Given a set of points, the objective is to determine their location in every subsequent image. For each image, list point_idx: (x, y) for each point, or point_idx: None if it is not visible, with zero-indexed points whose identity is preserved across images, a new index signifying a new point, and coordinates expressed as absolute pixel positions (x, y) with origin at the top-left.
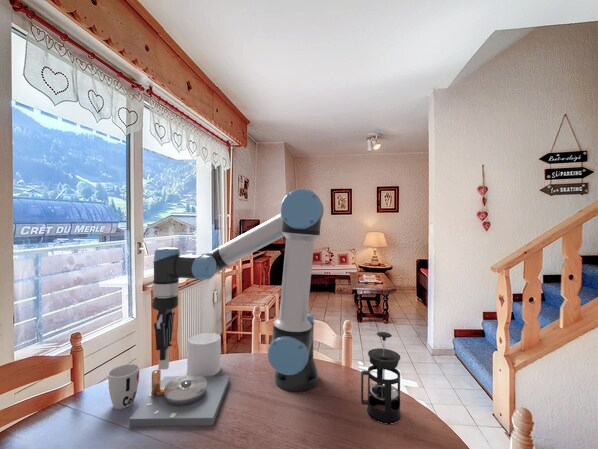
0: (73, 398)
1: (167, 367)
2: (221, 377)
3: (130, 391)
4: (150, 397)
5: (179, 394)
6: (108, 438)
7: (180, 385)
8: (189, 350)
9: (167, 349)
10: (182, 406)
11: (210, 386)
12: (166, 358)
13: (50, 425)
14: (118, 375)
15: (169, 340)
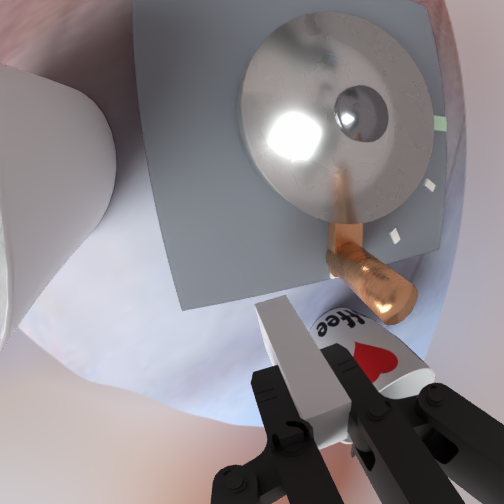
0: None
1: (283, 301)
2: (149, 4)
3: (385, 329)
4: None
5: (425, 120)
6: (446, 258)
7: (368, 142)
8: (43, 278)
9: (349, 399)
10: None
11: (249, 22)
12: (316, 347)
13: None
14: None
15: (309, 483)
